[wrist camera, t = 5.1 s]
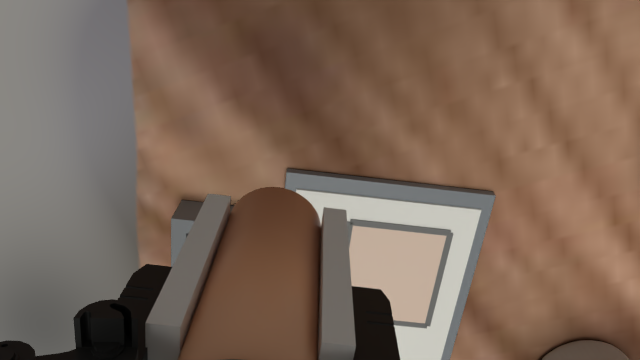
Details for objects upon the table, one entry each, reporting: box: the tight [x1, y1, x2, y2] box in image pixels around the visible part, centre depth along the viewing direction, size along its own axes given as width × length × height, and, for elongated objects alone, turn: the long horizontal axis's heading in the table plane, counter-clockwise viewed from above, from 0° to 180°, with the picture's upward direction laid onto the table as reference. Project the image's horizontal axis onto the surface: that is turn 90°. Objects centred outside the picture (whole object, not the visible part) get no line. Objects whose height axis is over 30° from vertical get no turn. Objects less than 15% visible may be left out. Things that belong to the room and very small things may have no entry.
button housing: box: [171, 200, 234, 267], centre depth 34 cm, size 6×6×2 cm
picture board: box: [285, 168, 496, 360], centre depth 36 cm, size 19×13×1 cm
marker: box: [177, 187, 321, 360], centre depth 14 cm, size 3×3×9 cm
